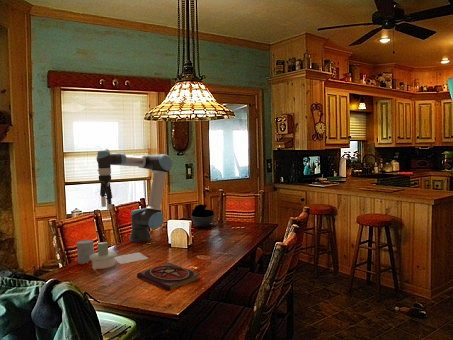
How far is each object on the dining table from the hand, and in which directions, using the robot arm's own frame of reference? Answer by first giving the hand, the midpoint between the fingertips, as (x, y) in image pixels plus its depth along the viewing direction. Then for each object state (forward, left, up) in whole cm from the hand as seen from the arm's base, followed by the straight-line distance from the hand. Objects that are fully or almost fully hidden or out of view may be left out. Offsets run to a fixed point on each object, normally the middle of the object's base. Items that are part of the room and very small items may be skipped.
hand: (106, 207), depth 236 cm
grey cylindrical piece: (+15, +4, -31) cm, 35 cm away
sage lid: (+9, +22, -25) cm, 34 cm away
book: (-14, +63, -31) cm, 72 cm away
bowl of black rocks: (-88, -34, -31) cm, 99 cm away
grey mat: (-8, +18, -31) cm, 36 cm away
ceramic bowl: (+9, +22, -31) cm, 39 cm away
